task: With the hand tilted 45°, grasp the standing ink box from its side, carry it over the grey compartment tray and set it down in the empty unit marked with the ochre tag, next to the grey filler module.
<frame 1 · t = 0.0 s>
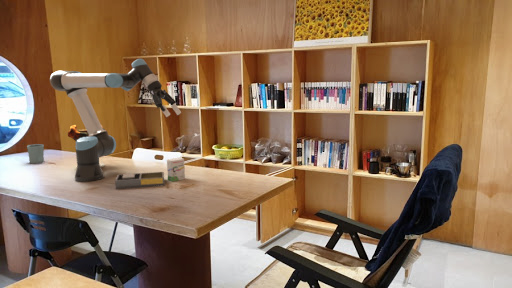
hand: (174, 114, 219), 36 cm above the table, tool tilted 35°, fingers open, 13 cm apart
decorative vase: (89, 167, 256), on the table
grey green cup: (37, 162, 271), on the table
grey compartment tray: (140, 184, 211), on the table
ink box: (176, 179, 220), on the table
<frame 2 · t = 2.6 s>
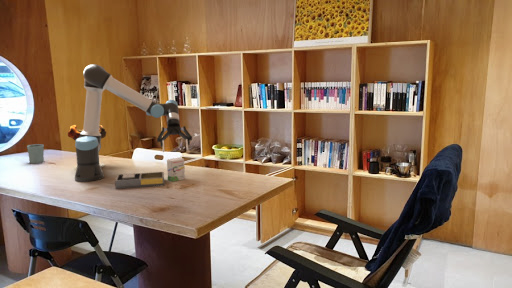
hand: (175, 150, 228), 15 cm above the table, tool tilted 45°, fingers open, 13 cm apart
nothing on the table moved.
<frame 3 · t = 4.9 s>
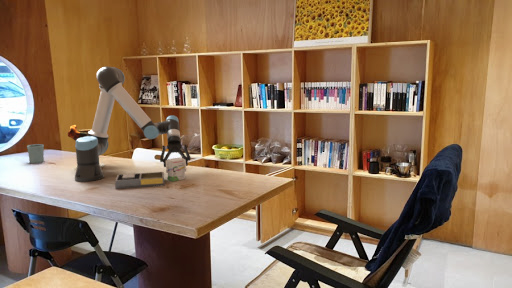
hand: (176, 170, 217), 5 cm above the table, tool tilted 45°, fingers closed on ink box, 9 cm apart
ink box: (176, 179, 220), on the table, touching gripper
everything else where it was.
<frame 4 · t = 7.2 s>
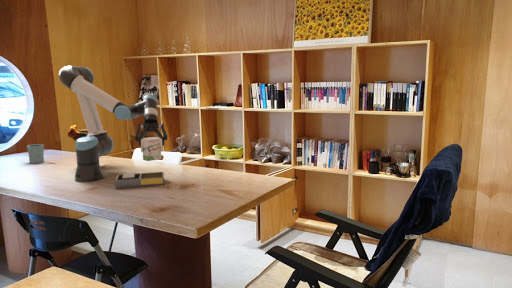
hand: (151, 150, 208), 18 cm above the table, tool tilted 45°, fingers closed on ink box, 9 cm apart
ink box: (152, 159, 211), point 13 cm above the table, touching gripper
everything else where it was.
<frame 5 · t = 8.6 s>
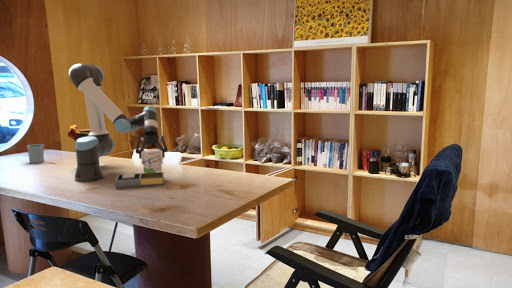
hand: (152, 162, 208), 12 cm above the table, tool tilted 45°, fingers closed on ink box, 9 cm apart
ink box: (152, 172, 211), point 6 cm above the table, touching gripper
everything else where it was.
when the fingers open (8 cm above the table, at t = 9.8 s): ink box drops 1 cm, resting on grey compartment tray.
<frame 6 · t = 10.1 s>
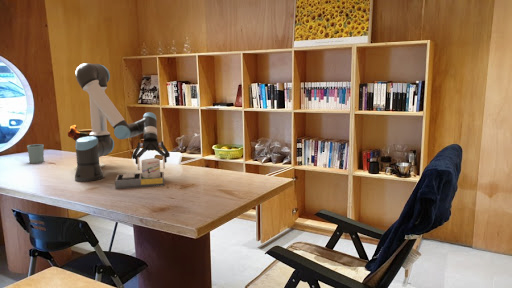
hand: (151, 168, 210), 9 cm above the table, tool tilted 45°, fingers open, 12 cm apart
ink box: (151, 181, 212), point 1 cm above the table, touching grey compartment tray
everything else where it was.
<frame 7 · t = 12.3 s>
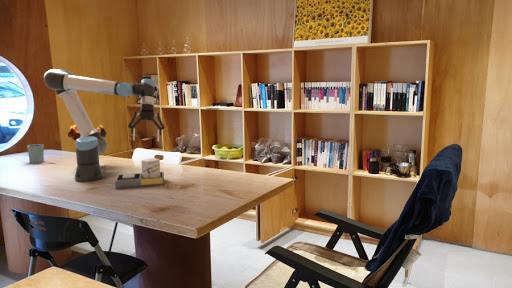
hand: (146, 140, 226), 21 cm above the table, tool tilted 20°, fingers open, 13 cm apart
nothing on the table moved.
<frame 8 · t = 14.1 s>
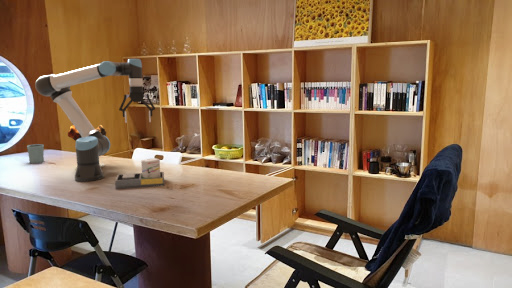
hand: (138, 122, 232), 31 cm above the table, tool pointing down, fingers open, 13 cm apart
nothing on the table moved.
at the end: ink box inside the target area on the grey compartment tray (0.4 cm from its centre), point 1.1 cm above the grey compartment tray's base; ink box tilted 0°; the gripper is holding nothing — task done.
